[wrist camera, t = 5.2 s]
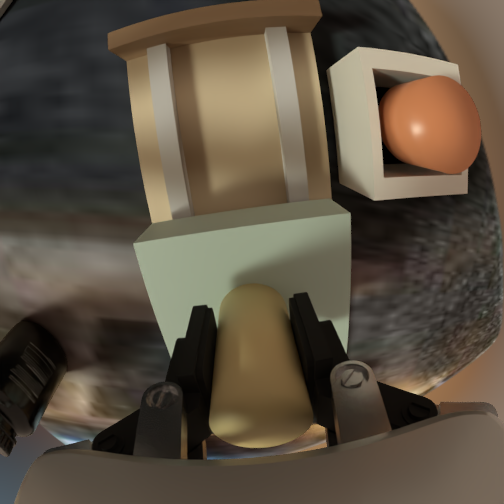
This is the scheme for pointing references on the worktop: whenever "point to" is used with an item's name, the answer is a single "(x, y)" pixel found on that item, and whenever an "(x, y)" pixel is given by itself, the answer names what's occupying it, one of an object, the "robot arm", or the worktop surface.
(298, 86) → the track
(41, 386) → the supplement bottle
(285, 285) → the block
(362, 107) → the white open box
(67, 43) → the worktop surface
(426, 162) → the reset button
